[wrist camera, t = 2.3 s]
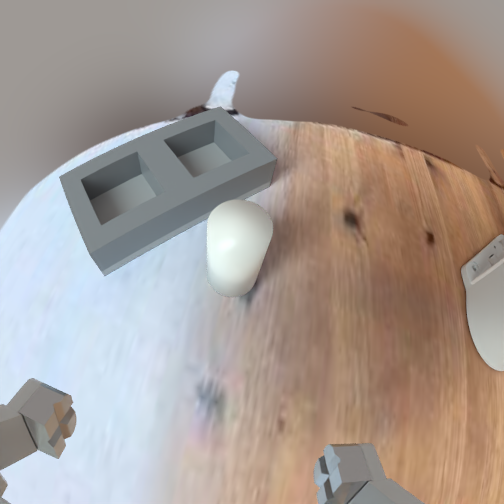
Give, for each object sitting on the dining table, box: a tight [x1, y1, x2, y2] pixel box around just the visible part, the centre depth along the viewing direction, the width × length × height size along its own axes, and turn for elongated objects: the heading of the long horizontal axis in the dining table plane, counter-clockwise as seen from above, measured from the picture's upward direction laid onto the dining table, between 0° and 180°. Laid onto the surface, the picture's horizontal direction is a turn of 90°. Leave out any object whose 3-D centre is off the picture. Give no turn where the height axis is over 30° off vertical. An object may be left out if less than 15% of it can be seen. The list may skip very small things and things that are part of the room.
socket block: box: [59, 107, 277, 276], centre depth 30 cm, size 20×10×4 cm, turn 127°
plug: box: [207, 200, 273, 297], centre depth 24 cm, size 4×4×9 cm
